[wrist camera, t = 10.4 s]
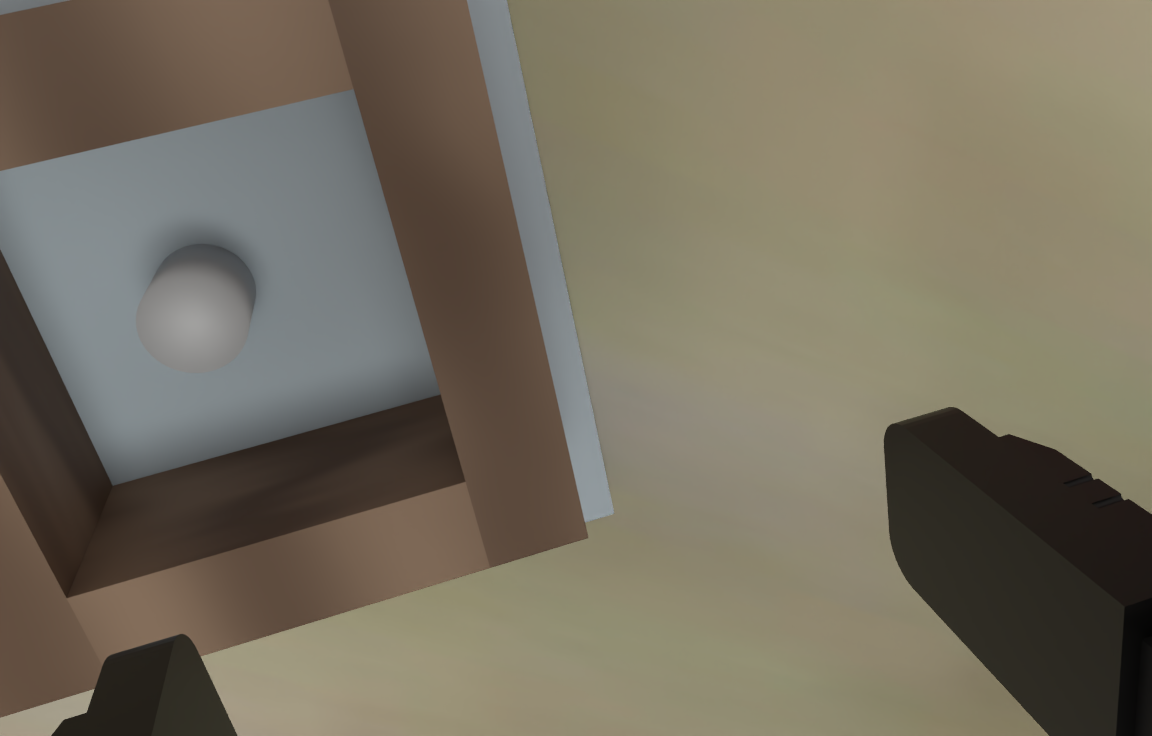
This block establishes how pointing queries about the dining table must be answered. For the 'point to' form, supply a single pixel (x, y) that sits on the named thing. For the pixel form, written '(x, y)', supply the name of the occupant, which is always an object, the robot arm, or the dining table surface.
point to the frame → (304, 461)
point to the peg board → (260, 278)
